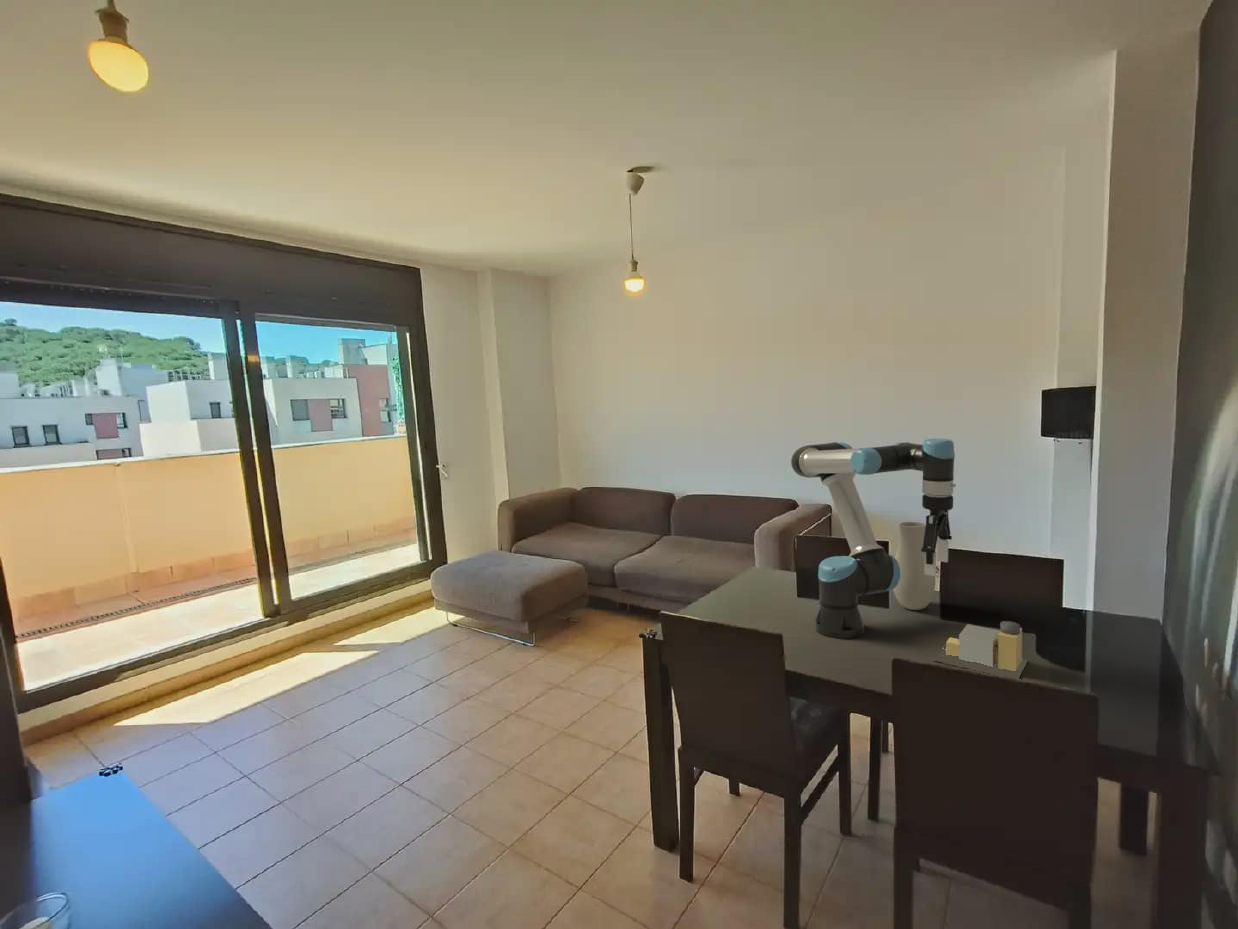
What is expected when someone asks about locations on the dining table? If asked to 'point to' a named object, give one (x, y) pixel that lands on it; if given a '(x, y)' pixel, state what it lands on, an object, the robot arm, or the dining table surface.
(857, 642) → the dining table surface
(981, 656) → the grey slotted block
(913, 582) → the vase
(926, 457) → the robot arm
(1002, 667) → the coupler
